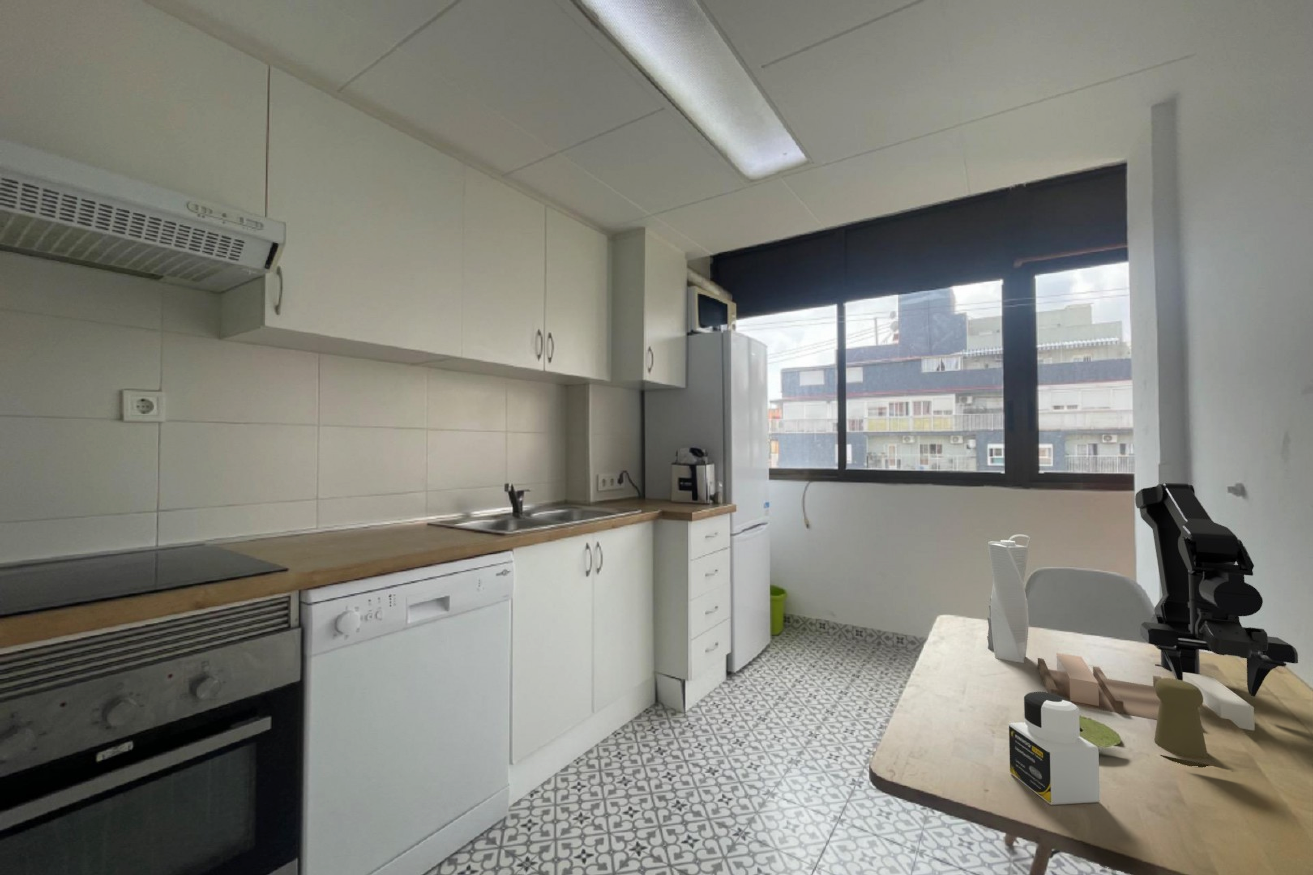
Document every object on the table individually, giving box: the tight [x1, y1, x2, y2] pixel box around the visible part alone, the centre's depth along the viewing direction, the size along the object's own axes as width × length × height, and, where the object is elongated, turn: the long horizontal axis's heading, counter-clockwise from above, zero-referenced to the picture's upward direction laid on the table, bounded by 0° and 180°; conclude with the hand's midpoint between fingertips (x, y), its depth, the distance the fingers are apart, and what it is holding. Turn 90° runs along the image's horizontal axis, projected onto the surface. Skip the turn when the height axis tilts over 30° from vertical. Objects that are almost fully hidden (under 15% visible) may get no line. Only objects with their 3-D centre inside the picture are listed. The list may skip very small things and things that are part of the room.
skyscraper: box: [986, 534, 1031, 664], centre depth 116 cm, size 8×8×28 cm
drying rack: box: [1037, 657, 1162, 721], centre depth 98 cm, size 17×19×3 cm
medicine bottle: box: [1008, 691, 1101, 806], centre depth 72 cm, size 7×7×12 cm
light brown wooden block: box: [1056, 652, 1099, 706], centre depth 100 cm, size 14×4×4 cm, turn 151°
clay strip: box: [1183, 672, 1256, 732], centre depth 94 cm, size 14×4×4 cm, turn 154°
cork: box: [1153, 677, 1210, 768], centre depth 80 cm, size 6×6×11 cm
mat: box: [1079, 714, 1122, 748], centre depth 84 cm, size 11×11×2 cm
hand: (1215, 689), depth 94 cm, fingers open, 9 cm apart
